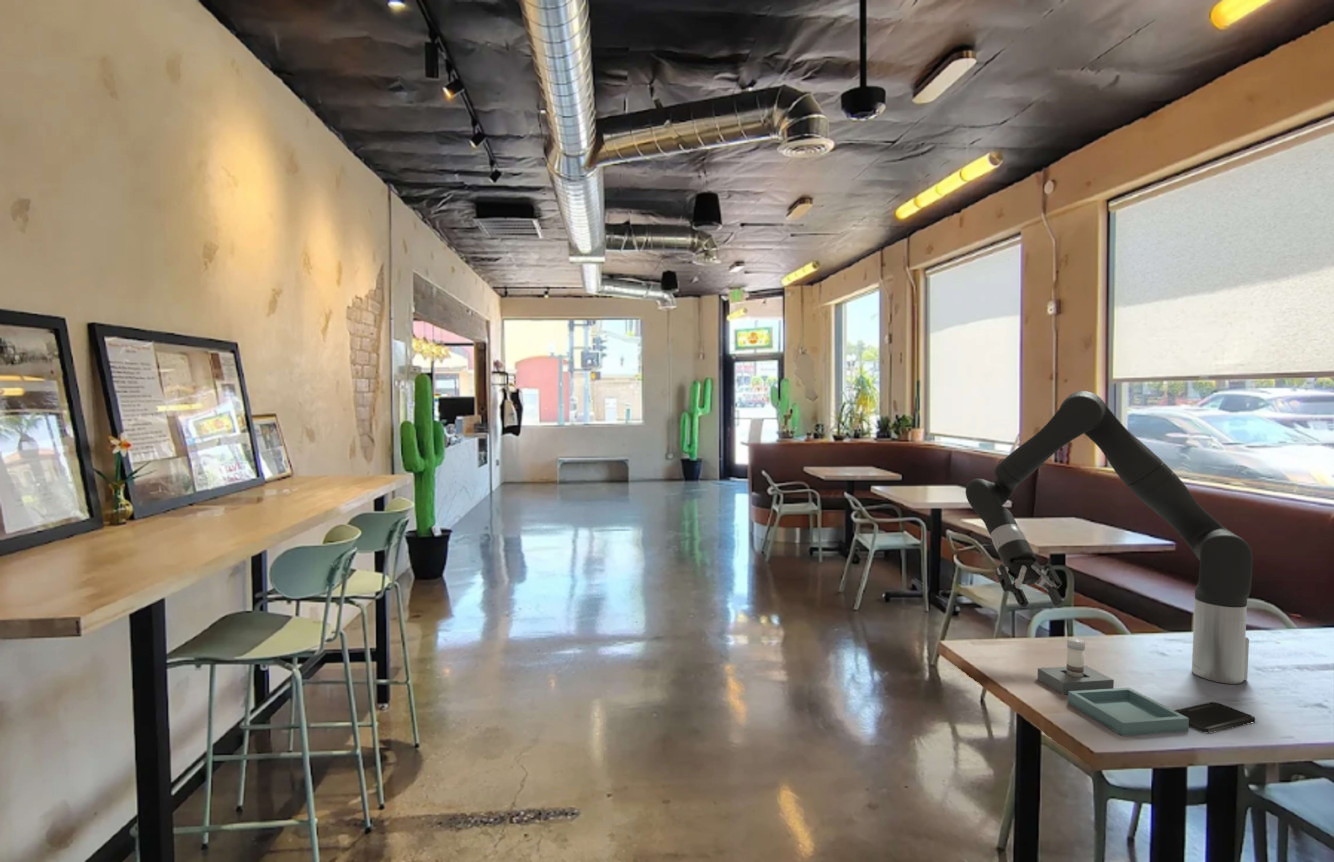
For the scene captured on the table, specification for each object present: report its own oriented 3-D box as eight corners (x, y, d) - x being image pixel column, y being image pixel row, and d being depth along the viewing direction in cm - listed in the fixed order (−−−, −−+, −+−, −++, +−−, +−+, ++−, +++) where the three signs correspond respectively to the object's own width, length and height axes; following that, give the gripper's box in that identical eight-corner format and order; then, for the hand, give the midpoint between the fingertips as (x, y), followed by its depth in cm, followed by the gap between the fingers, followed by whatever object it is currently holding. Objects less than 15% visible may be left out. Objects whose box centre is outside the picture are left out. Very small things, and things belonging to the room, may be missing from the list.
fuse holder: (1085, 676, 155) (1085, 665, 155) (1113, 691, 147) (1113, 679, 147) (1037, 679, 154) (1037, 668, 154) (1063, 694, 146) (1063, 682, 146)
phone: (1257, 717, 134) (1206, 730, 129) (1257, 723, 134) (1206, 735, 129) (1213, 701, 141) (1163, 712, 136) (1213, 706, 141) (1163, 717, 136)
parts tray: (1128, 699, 144) (1128, 687, 143) (1188, 731, 130) (1188, 718, 130) (1068, 703, 141) (1068, 691, 141) (1122, 736, 128) (1123, 723, 128)
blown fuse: (1075, 681, 152) (1077, 637, 152) (1087, 687, 149) (1088, 642, 149) (1062, 682, 152) (1063, 638, 152) (1073, 688, 149) (1074, 643, 148)
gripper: (992, 538, 168) (1022, 598, 157) (1045, 537, 170) (1078, 596, 159) (979, 555, 173) (1006, 614, 163) (1030, 553, 175) (1061, 611, 165)
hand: (1042, 605), depth 161 cm, fingers open, 8 cm apart
